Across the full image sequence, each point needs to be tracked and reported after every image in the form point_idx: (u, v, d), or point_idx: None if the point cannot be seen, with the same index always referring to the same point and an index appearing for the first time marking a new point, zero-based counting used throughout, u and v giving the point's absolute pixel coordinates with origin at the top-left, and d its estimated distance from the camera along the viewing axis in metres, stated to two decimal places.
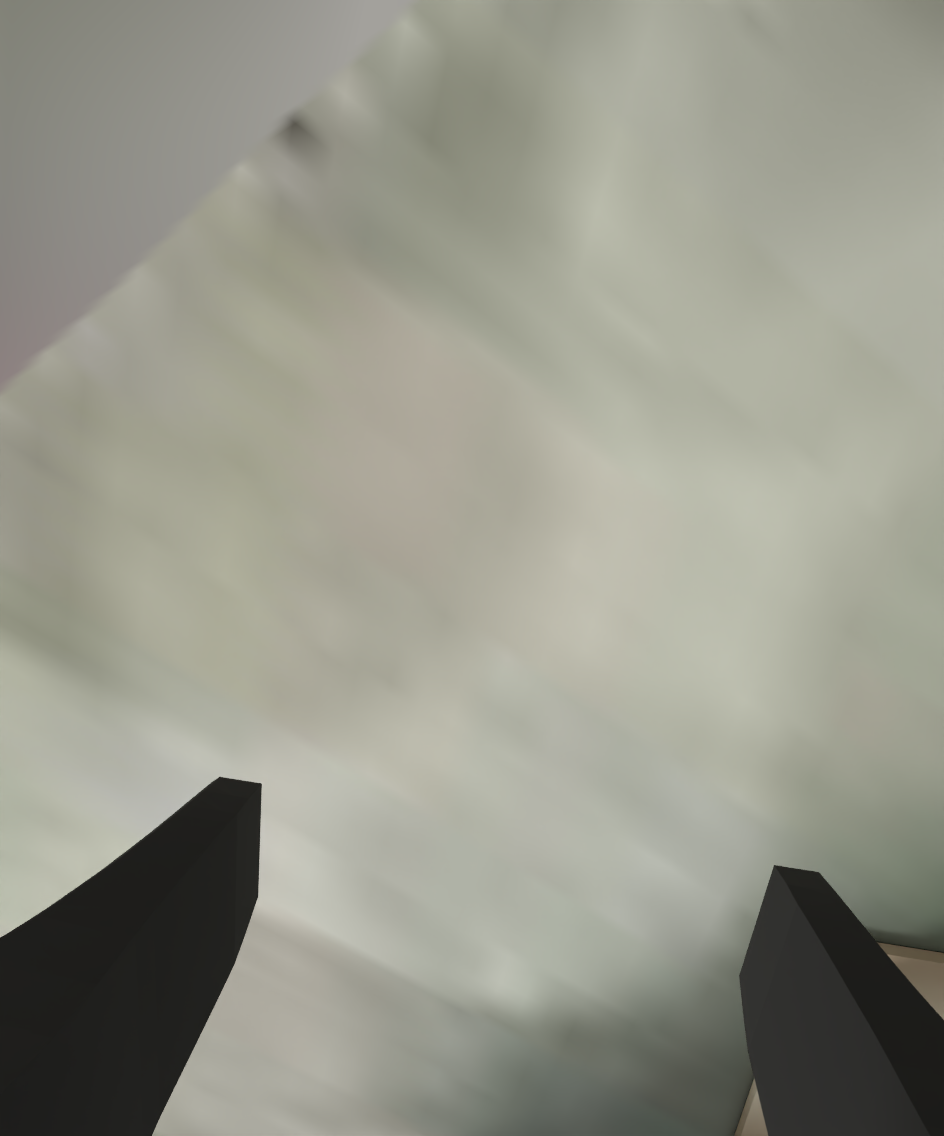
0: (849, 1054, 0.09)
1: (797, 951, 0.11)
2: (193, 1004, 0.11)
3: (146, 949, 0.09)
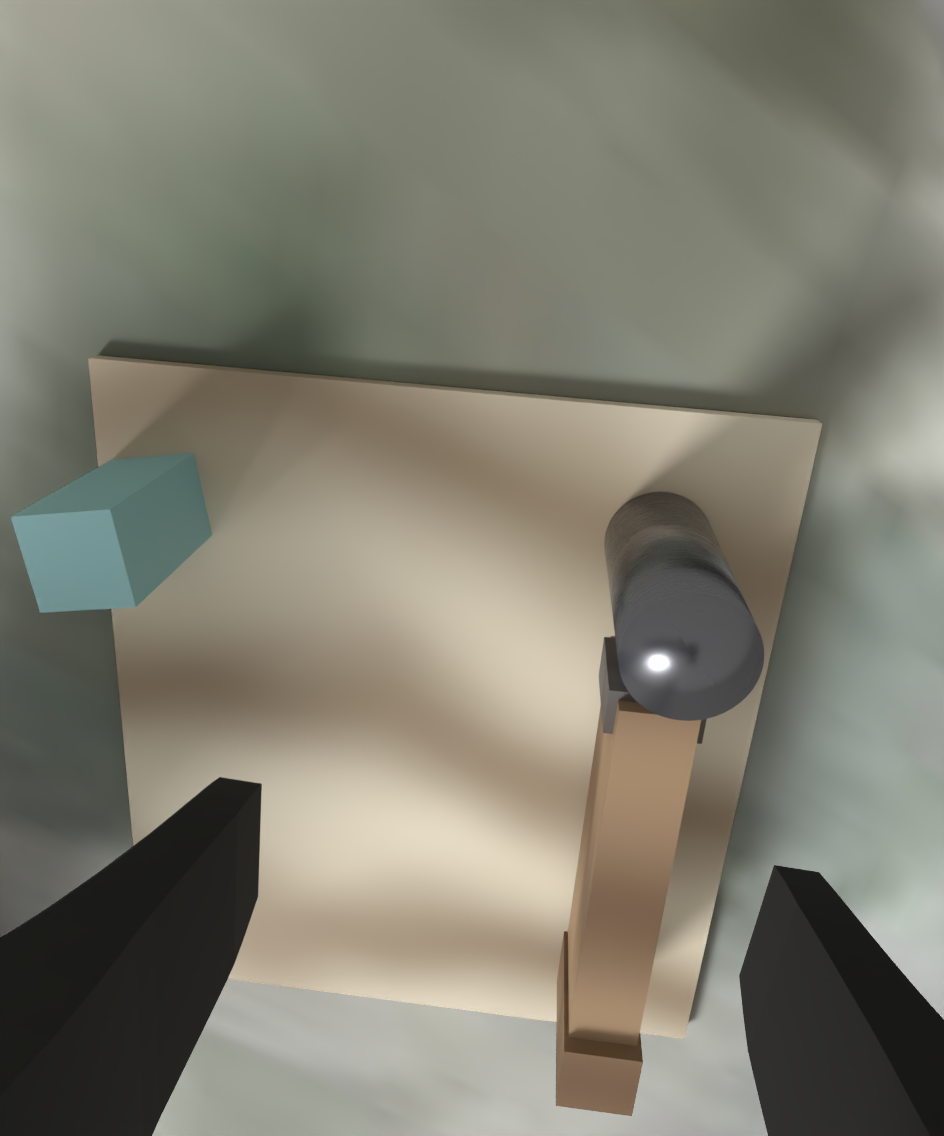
0: (849, 1054, 0.09)
1: (797, 951, 0.11)
2: (193, 1004, 0.11)
3: (147, 948, 0.09)
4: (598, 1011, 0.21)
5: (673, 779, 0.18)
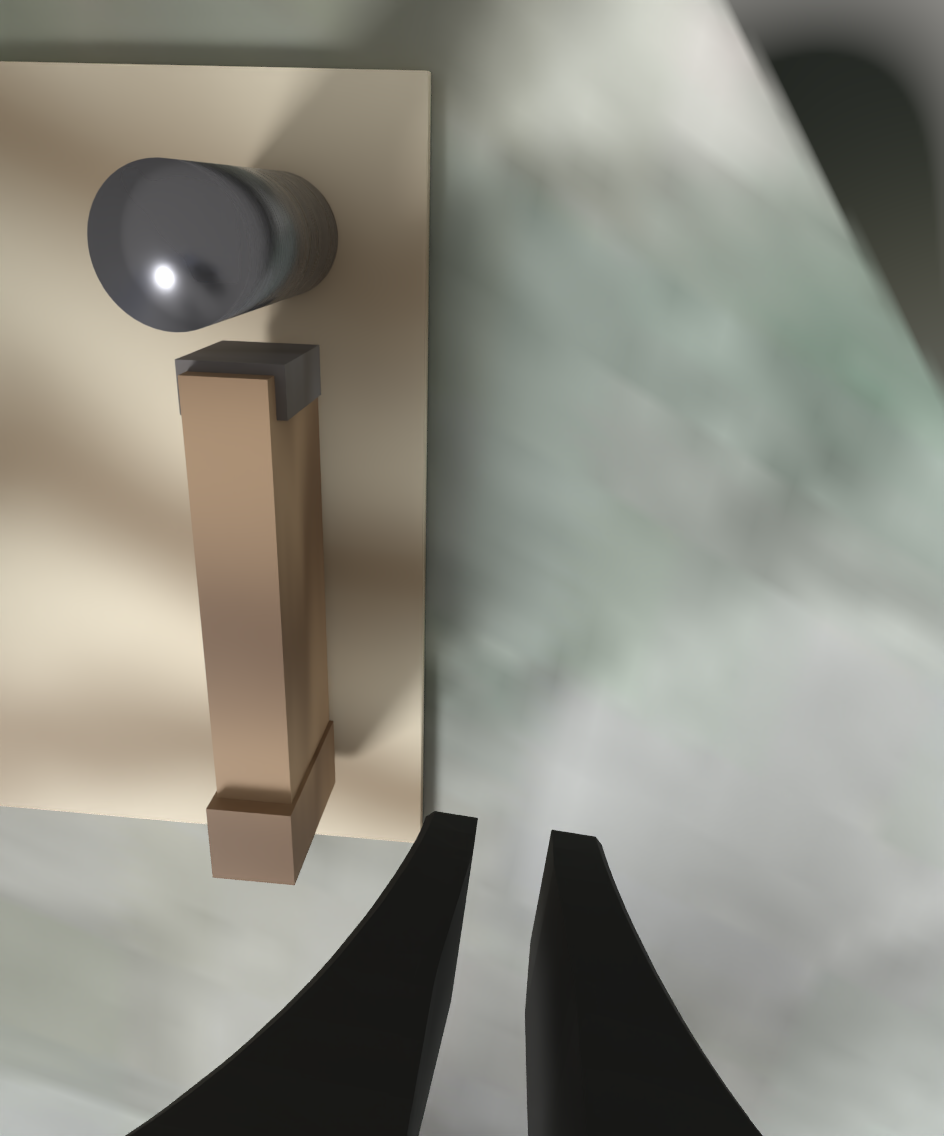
0: (563, 1006, 0.09)
1: (550, 911, 0.11)
2: (435, 1045, 0.11)
3: (433, 997, 0.09)
4: (242, 763, 0.19)
5: (254, 460, 0.16)
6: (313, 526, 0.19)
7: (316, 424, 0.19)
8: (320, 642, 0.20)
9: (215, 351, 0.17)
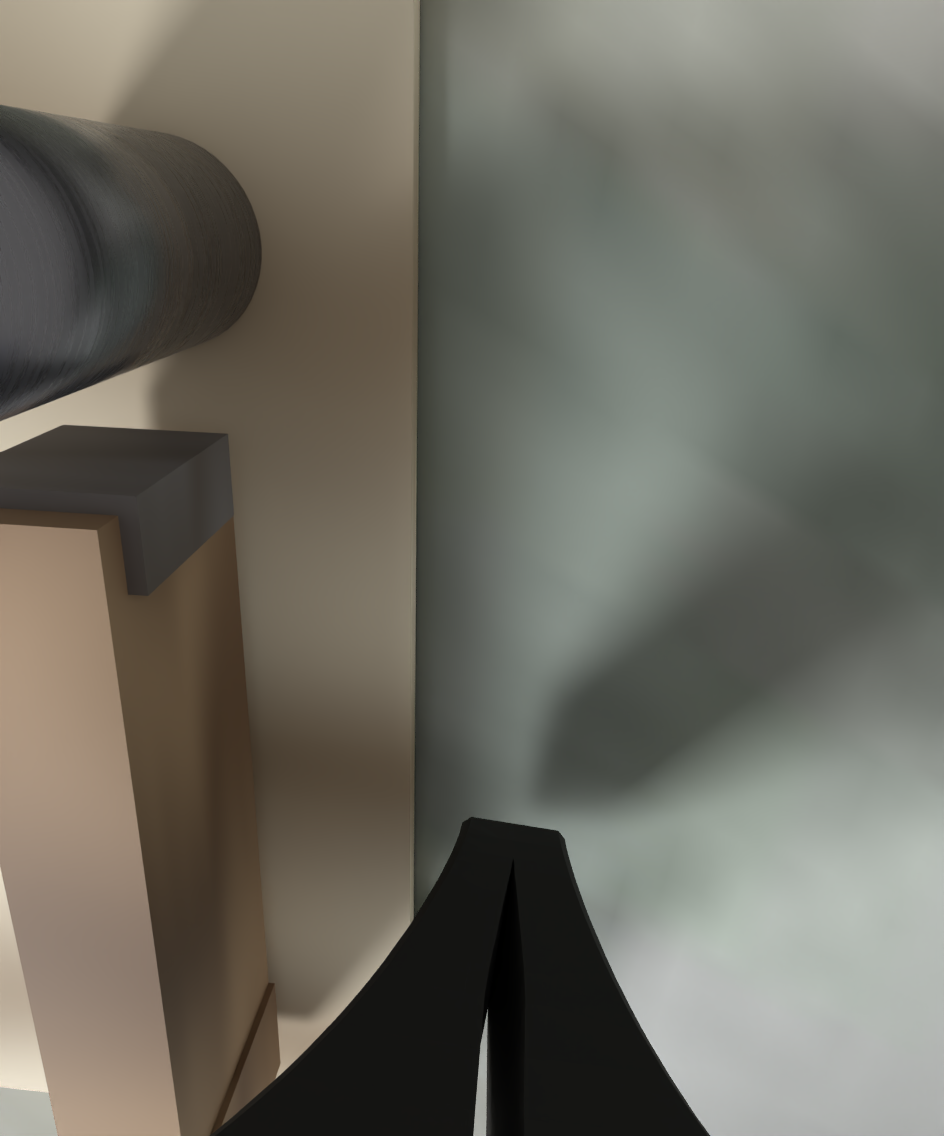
0: (516, 998, 0.09)
1: (509, 904, 0.11)
2: None
3: None
4: (103, 1134, 0.11)
5: (84, 671, 0.08)
6: (228, 724, 0.12)
7: (230, 558, 0.11)
8: (246, 889, 0.13)
9: (27, 456, 0.09)
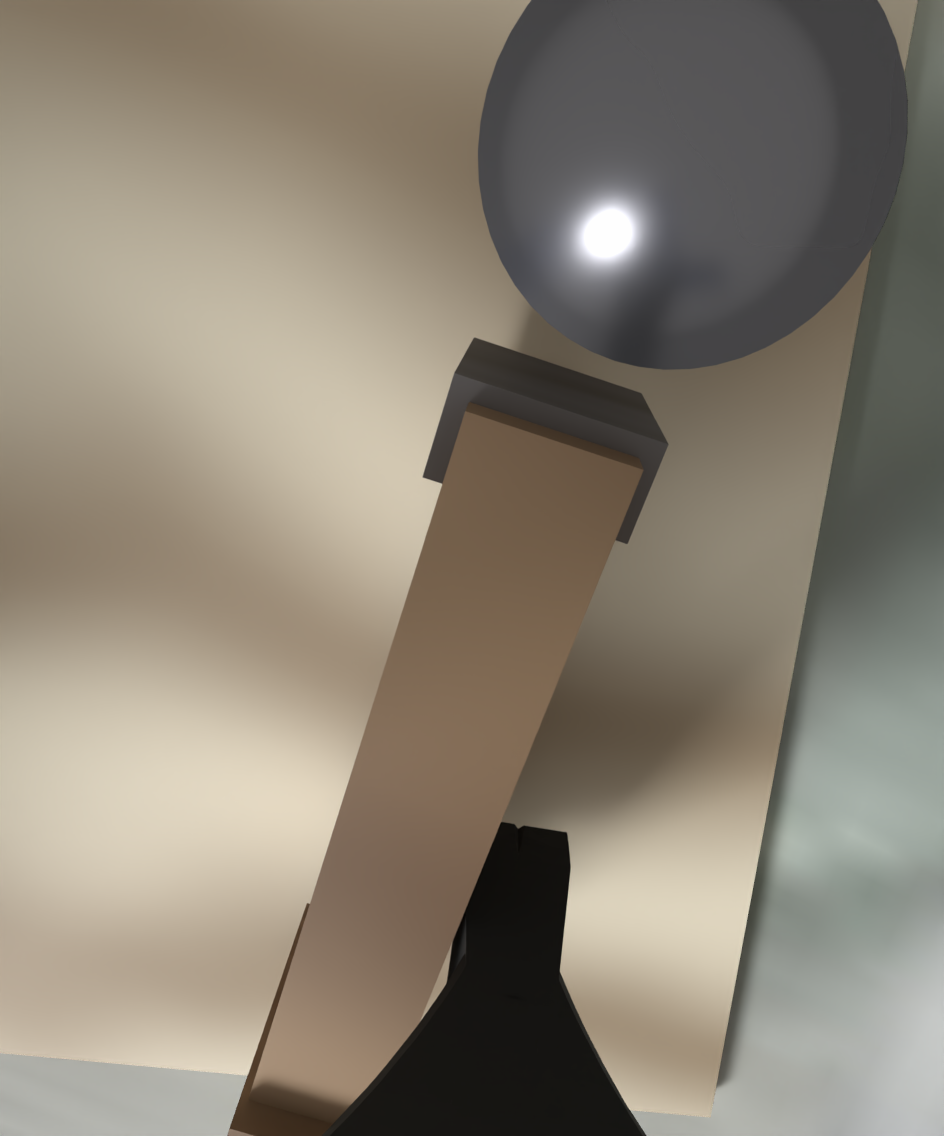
0: None
1: None
2: None
3: None
4: (313, 1064, 0.11)
5: (552, 604, 0.08)
6: None
7: None
8: None
9: (498, 366, 0.09)
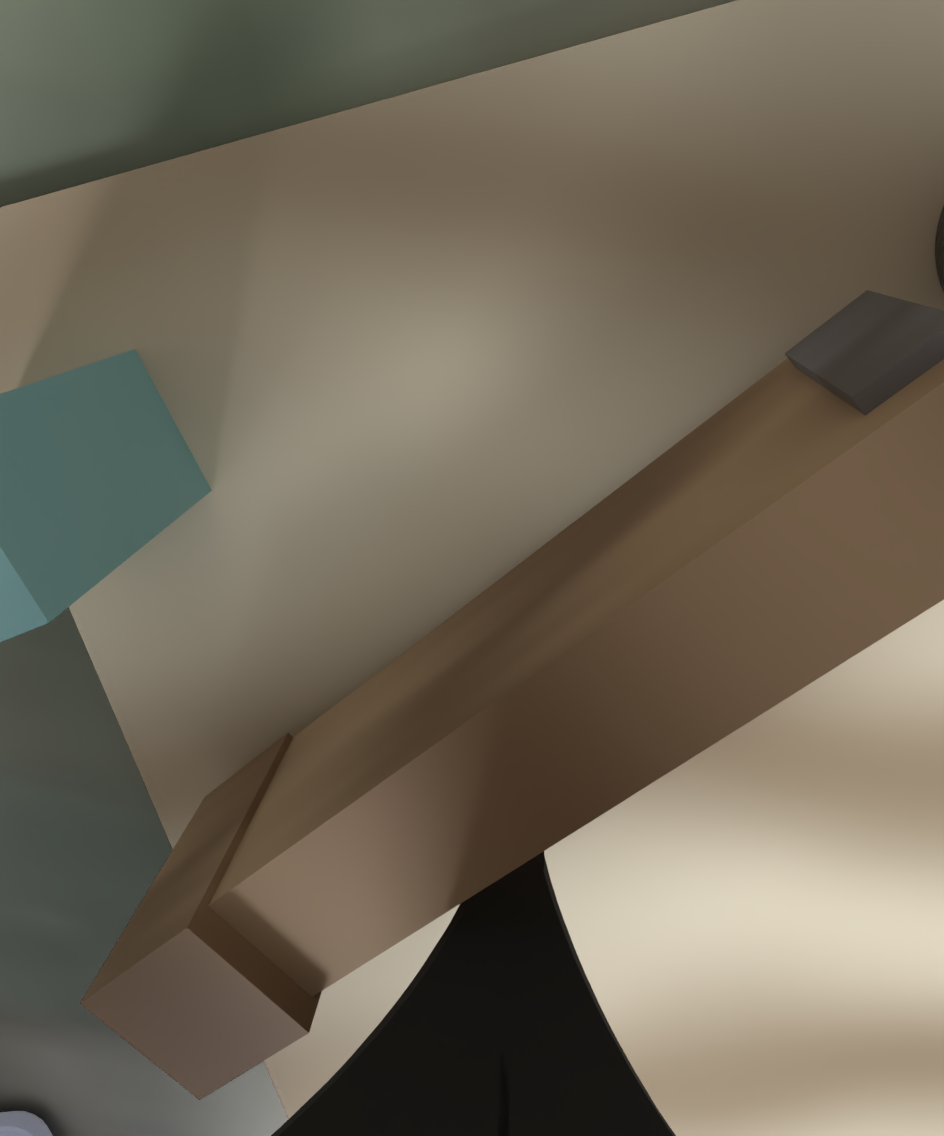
0: None
1: None
2: None
3: None
4: (306, 902, 0.09)
5: (897, 590, 0.08)
6: None
7: None
8: None
9: None
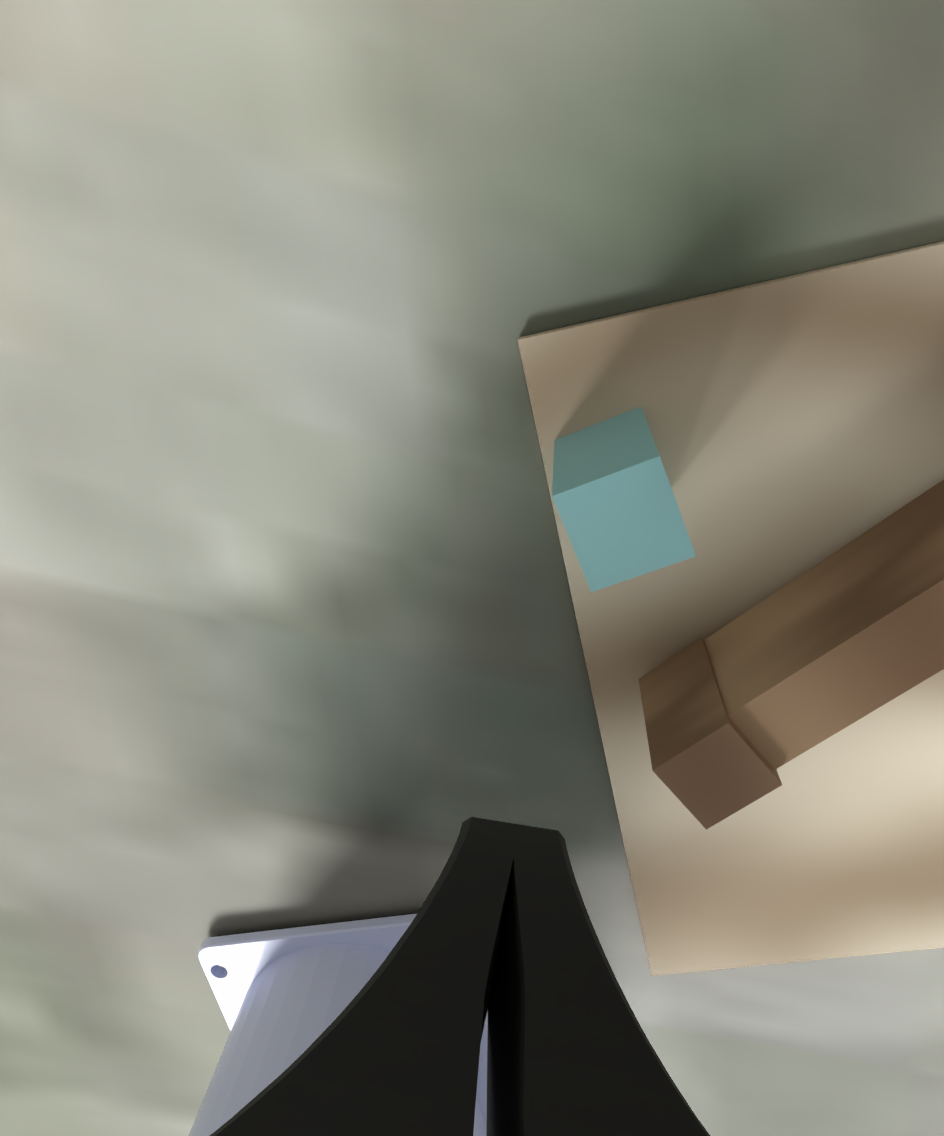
0: (516, 998, 0.09)
1: (509, 904, 0.11)
2: None
3: None
4: (785, 711, 0.17)
5: None
6: None
7: None
8: None
9: None
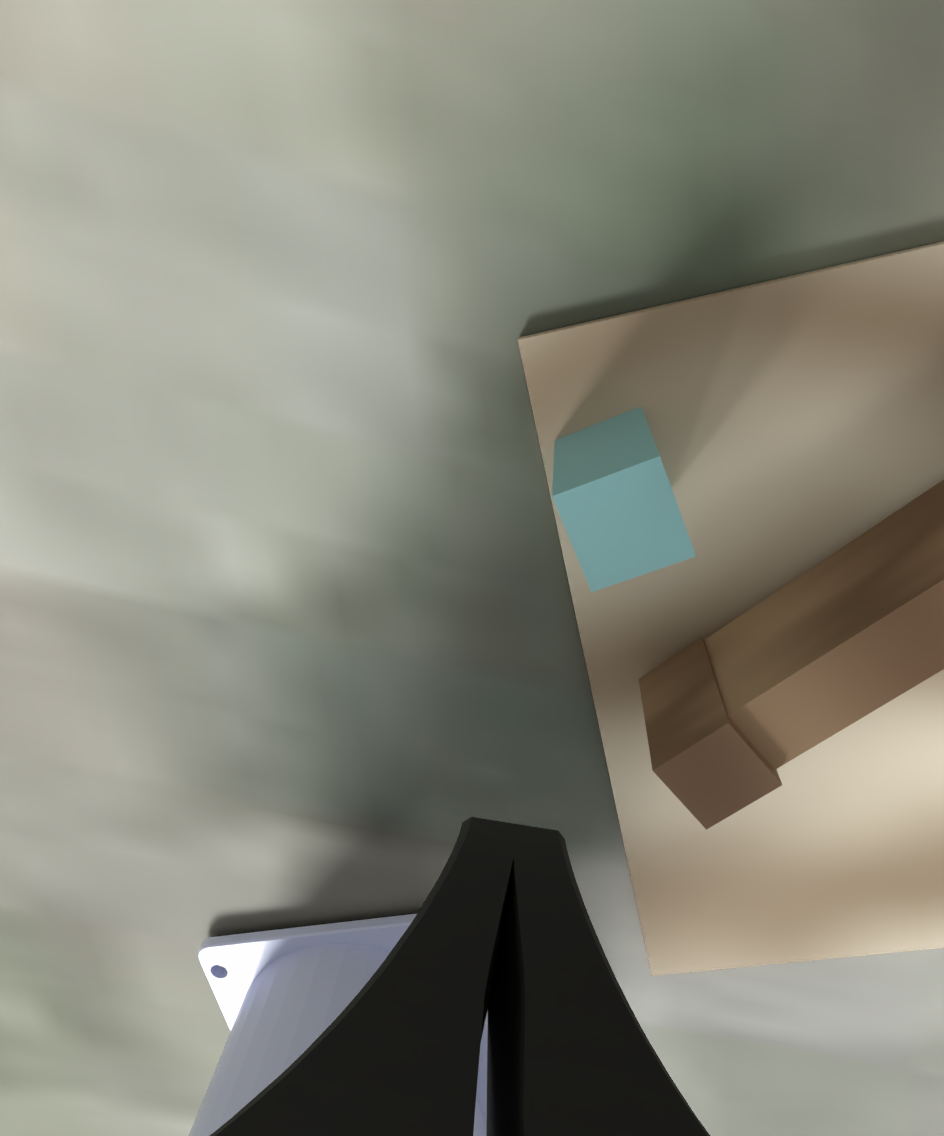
0: (516, 998, 0.09)
1: (509, 904, 0.11)
2: None
3: None
4: (785, 711, 0.17)
5: None
6: None
7: None
8: None
9: None
